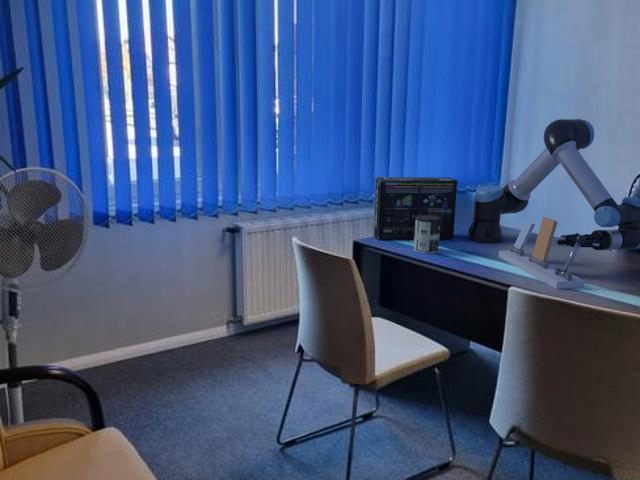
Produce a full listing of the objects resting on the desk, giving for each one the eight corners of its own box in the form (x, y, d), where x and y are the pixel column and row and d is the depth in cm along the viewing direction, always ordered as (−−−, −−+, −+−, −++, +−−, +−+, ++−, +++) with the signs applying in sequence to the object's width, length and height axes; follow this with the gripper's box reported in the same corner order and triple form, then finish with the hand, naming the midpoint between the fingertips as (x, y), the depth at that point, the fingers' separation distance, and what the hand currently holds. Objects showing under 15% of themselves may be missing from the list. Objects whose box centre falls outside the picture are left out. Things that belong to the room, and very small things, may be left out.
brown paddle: (534, 260, 207) (546, 217, 204) (545, 266, 200) (558, 221, 196) (529, 260, 207) (542, 216, 203) (541, 266, 200) (554, 221, 196)
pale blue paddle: (514, 251, 220) (528, 222, 218) (521, 254, 216) (536, 225, 214) (510, 250, 220) (525, 220, 218) (517, 253, 215) (532, 223, 213)
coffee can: (436, 247, 234) (438, 214, 230) (440, 254, 224) (443, 220, 220) (411, 246, 234) (413, 214, 230) (415, 253, 224) (417, 219, 220)
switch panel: (521, 255, 224) (522, 244, 223) (583, 287, 187) (585, 274, 185) (498, 256, 222) (499, 245, 221) (556, 288, 185) (558, 275, 184)
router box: (446, 234, 257) (451, 177, 251) (454, 240, 247) (460, 180, 240) (371, 234, 254) (373, 176, 247) (375, 240, 243) (378, 179, 236)
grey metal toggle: (560, 275, 192) (581, 235, 190) (569, 279, 187) (590, 238, 185) (554, 272, 191) (574, 232, 189) (562, 276, 186) (583, 235, 184)
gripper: (615, 254, 201) (557, 256, 196) (591, 245, 213) (536, 247, 208) (619, 234, 199) (560, 236, 194) (594, 226, 211) (538, 227, 207)
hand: (548, 241), depth 201 cm, fingers closed
